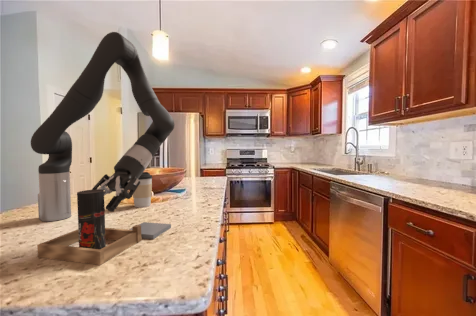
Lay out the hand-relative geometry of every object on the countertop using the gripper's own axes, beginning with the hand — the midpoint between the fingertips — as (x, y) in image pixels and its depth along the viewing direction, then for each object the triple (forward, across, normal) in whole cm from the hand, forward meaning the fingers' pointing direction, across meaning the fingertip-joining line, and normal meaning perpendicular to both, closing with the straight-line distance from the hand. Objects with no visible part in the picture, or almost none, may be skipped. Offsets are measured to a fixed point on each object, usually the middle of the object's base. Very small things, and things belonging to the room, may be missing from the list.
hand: (98, 208), depth 63 cm
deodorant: (+9, 0, +6) cm, 10 cm away
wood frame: (+8, 0, +6) cm, 10 cm away
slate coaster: (-2, +3, +17) cm, 17 cm away
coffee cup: (-19, -27, +33) cm, 46 cm away
